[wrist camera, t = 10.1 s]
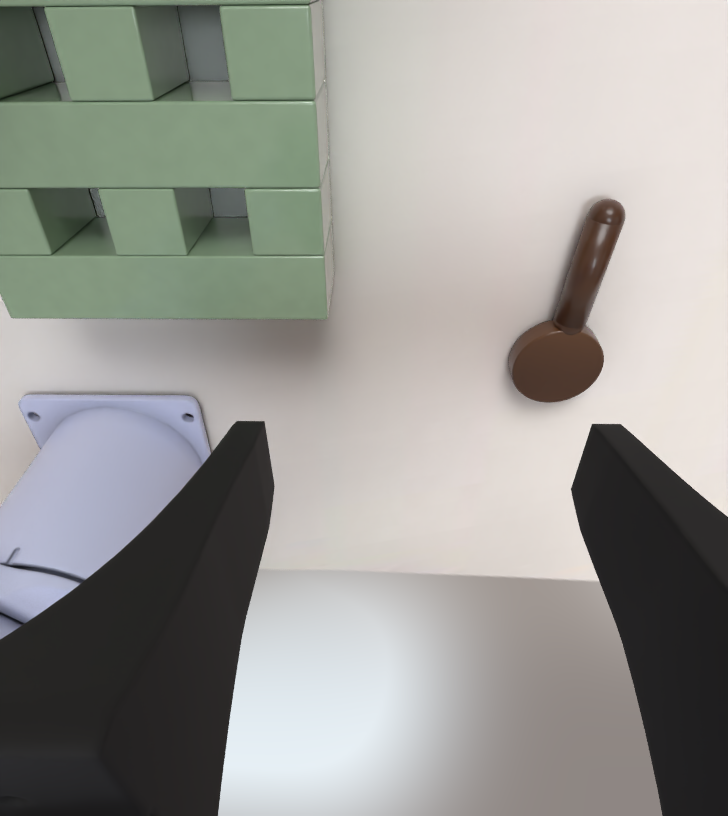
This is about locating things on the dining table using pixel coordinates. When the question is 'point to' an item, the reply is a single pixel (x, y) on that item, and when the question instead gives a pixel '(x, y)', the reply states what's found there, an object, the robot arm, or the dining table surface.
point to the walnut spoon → (570, 319)
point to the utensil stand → (163, 164)
